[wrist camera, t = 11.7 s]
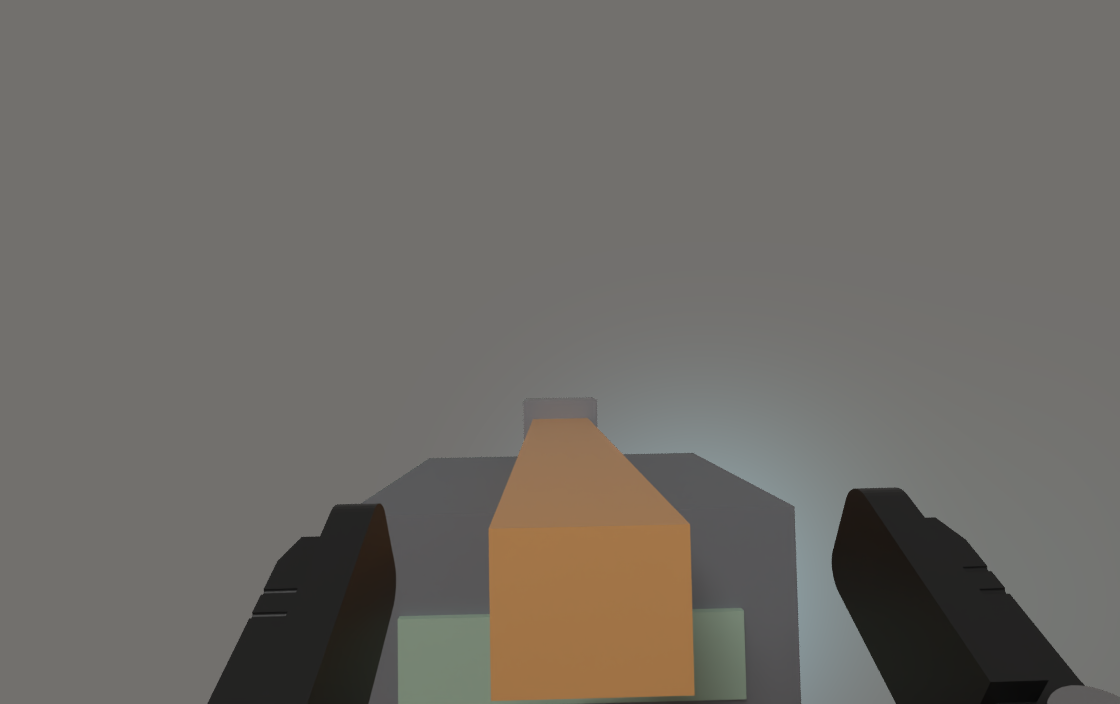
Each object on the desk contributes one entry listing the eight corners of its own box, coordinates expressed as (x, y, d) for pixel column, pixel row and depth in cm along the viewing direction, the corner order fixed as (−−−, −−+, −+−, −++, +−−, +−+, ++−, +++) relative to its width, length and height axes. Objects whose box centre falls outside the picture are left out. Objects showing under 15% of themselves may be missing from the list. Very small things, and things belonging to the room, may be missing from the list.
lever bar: (727, 694, 9) (721, 456, 9) (457, 701, 9) (453, 461, 9) (592, 455, 38) (591, 397, 38) (527, 456, 38) (526, 398, 38)
